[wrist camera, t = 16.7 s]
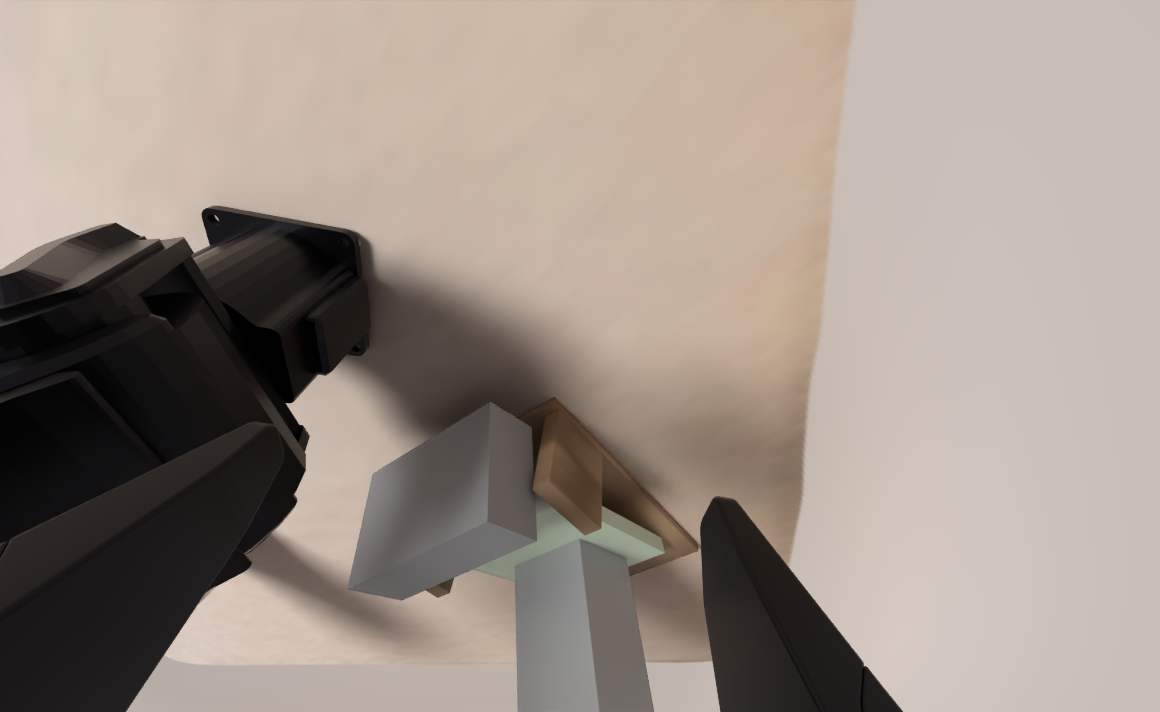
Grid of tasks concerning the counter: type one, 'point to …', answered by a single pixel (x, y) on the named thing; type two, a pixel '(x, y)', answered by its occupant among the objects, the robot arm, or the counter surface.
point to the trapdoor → (469, 512)
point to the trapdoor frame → (590, 485)
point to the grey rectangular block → (578, 633)
